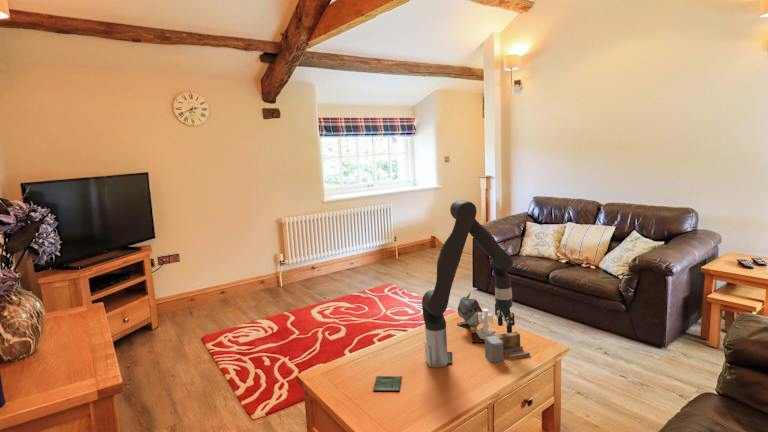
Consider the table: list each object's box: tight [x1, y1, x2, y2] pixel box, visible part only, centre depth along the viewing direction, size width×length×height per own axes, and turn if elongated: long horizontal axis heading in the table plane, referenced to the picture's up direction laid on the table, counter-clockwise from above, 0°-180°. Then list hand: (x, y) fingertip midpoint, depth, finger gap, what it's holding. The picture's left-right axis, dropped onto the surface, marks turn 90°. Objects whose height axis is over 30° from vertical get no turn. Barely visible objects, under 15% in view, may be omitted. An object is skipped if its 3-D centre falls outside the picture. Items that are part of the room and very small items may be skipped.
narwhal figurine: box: [456, 291, 482, 333], centre depth 223 cm, size 14×15×18 cm
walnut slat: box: [489, 331, 521, 350], centre depth 200 cm, size 14×3×7 cm, turn 103°
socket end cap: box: [484, 336, 504, 364], centre depth 192 cm, size 6×7×9 cm
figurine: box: [475, 307, 497, 341], centre depth 212 cm, size 7×9×15 cm
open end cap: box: [503, 345, 531, 361], centre depth 195 cm, size 10×7×2 cm
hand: (504, 329), depth 199 cm, fingers open, 8 cm apart
